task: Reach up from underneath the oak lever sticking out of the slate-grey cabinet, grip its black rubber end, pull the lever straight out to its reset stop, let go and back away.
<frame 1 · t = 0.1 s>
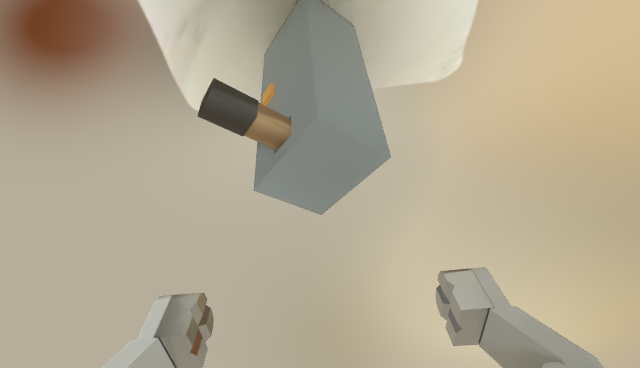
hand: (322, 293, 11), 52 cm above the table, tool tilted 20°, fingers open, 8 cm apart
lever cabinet: (308, 40, 58), on the table
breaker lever: (274, 130, 37), point 27 cm above the table, slide at 0.0 cm
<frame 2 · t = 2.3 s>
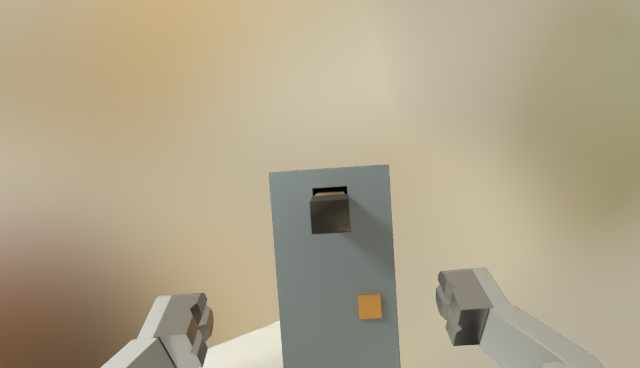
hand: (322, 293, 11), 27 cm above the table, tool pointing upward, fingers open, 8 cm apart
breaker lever: (330, 205, 35), point 27 cm above the table, slide at 0.0 cm
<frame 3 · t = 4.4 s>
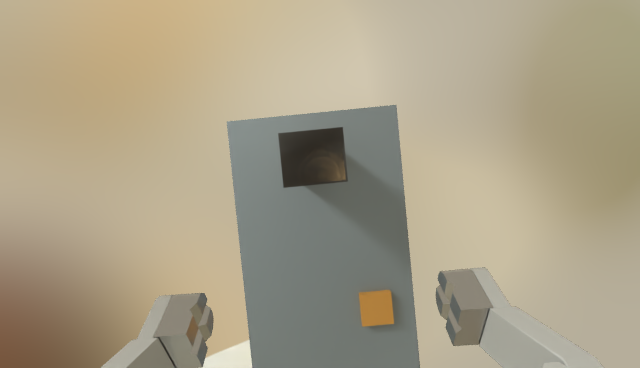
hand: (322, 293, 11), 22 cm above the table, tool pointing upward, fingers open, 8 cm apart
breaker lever: (316, 163, 24), point 27 cm above the table, slide at 0.0 cm
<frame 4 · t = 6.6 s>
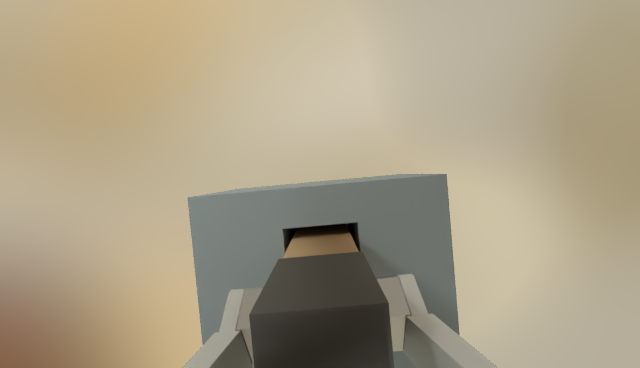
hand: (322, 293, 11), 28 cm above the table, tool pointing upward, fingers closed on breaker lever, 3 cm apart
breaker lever: (323, 267, 16), point 27 cm above the table, slide at 0.0 cm, touching gripper
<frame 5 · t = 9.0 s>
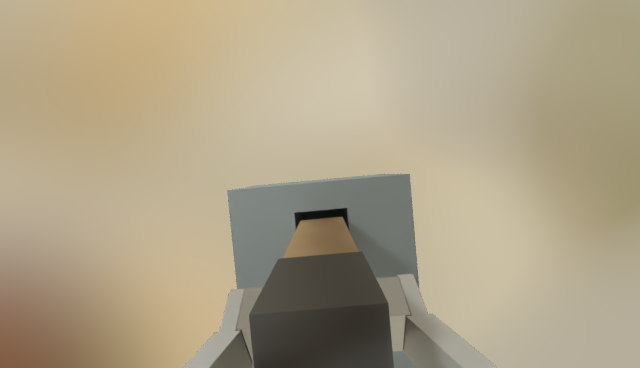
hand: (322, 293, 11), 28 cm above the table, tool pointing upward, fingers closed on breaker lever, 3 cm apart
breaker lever: (323, 267, 16), point 27 cm above the table, slide at 6.9 cm, touching gripper
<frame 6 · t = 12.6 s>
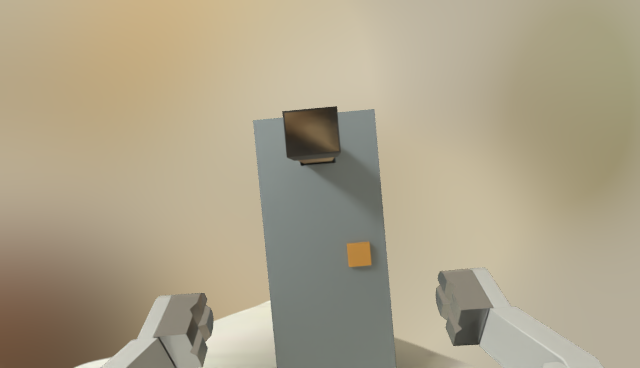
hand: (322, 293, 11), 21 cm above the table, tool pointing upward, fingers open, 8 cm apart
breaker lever: (315, 144, 27), point 27 cm above the table, slide at 7.0 cm
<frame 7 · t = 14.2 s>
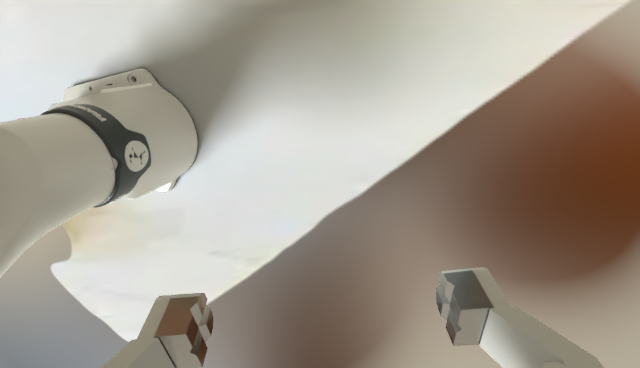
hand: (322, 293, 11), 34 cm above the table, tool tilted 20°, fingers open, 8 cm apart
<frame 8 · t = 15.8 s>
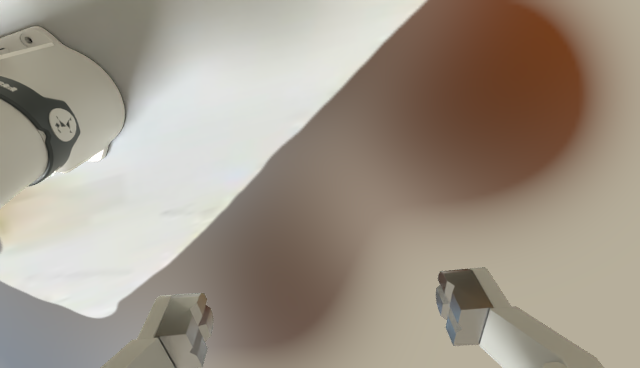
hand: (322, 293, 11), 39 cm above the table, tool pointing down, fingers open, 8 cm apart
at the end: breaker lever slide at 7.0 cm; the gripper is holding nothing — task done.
